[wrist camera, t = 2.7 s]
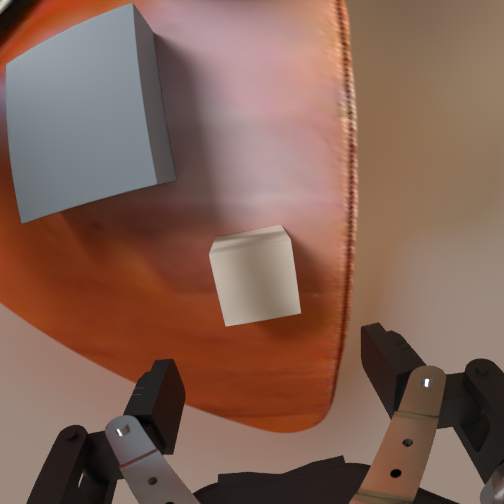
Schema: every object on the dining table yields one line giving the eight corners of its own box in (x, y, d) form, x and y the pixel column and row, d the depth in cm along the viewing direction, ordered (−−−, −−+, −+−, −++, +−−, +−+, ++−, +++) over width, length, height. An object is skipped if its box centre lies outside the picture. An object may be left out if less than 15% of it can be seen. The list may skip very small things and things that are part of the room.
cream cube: (228, 296, 27) (225, 326, 22) (215, 236, 26) (208, 254, 21) (290, 285, 27) (301, 313, 22) (280, 224, 26) (290, 239, 21)
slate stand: (59, 211, 25) (21, 223, 19) (42, 77, 21) (6, 64, 15) (176, 180, 24) (157, 183, 19) (153, 32, 21) (132, 2, 15)
